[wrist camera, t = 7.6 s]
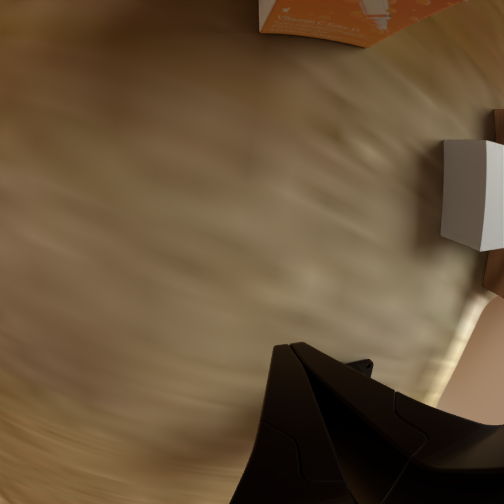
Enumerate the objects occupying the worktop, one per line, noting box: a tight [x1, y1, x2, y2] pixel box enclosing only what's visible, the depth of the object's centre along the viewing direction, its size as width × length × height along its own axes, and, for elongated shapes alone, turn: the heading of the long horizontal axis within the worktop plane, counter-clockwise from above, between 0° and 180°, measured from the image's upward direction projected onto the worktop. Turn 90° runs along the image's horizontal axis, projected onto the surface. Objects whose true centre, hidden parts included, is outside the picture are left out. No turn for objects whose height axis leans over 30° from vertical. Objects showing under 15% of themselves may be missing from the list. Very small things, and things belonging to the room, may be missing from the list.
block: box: [440, 140, 504, 252], centre depth 19 cm, size 8×8×5 cm
